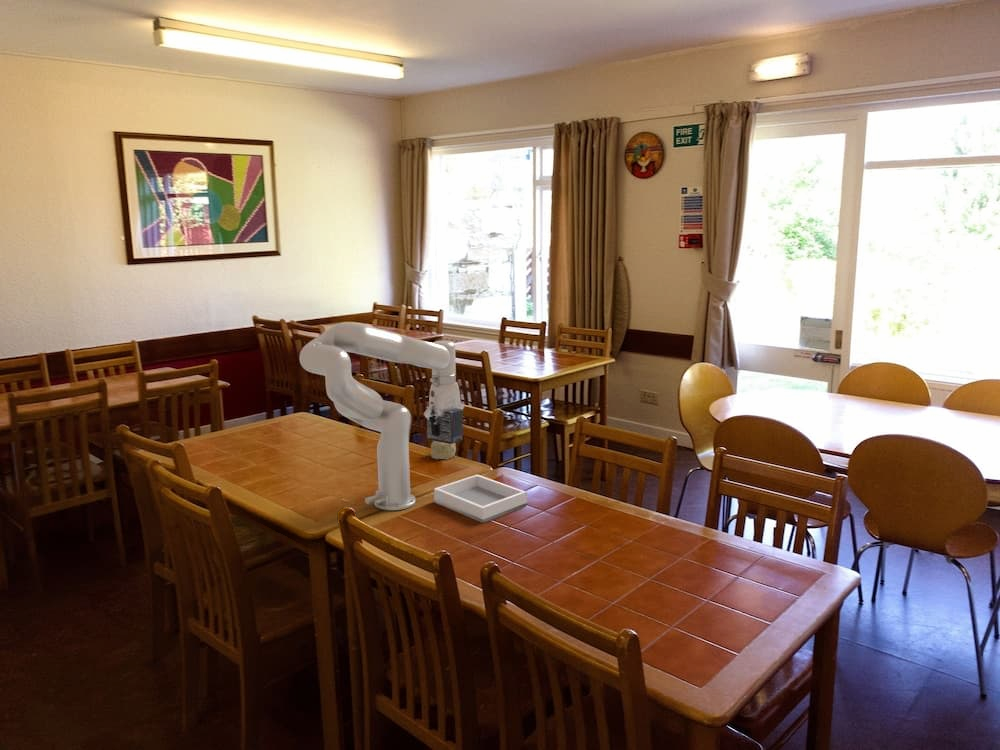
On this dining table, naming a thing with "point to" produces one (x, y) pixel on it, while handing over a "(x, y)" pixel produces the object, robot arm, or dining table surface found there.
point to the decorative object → (442, 450)
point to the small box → (448, 427)
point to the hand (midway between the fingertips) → (444, 432)
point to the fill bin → (480, 498)
